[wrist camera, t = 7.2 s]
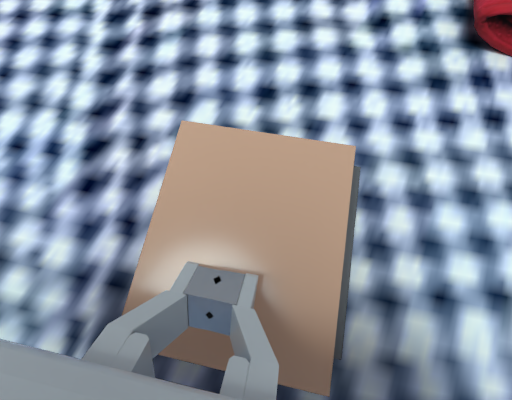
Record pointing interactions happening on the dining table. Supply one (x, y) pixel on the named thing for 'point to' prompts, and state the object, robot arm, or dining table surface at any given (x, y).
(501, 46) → the dish drying mat
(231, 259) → the tile
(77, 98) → the dining table surface
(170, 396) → the robot arm
